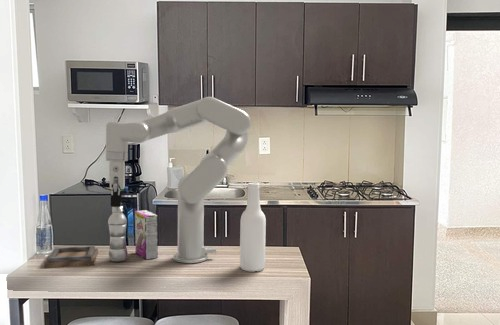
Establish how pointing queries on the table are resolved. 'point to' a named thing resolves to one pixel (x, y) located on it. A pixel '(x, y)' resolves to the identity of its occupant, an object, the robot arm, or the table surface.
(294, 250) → the table surface
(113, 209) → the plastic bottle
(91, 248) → the brown wooden tray
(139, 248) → the candy bar box
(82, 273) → the table surface
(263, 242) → the alcohol
